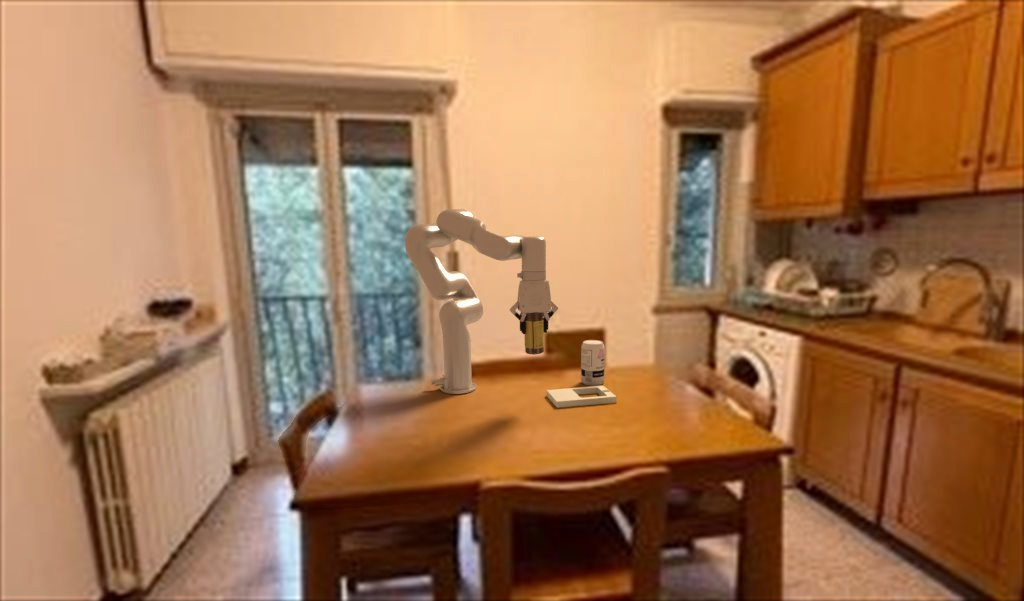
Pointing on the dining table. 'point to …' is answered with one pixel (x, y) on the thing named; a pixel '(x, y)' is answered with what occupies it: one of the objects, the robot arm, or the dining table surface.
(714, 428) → the dining table surface
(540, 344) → the sauce bottle
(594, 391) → the board
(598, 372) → the supplement can
